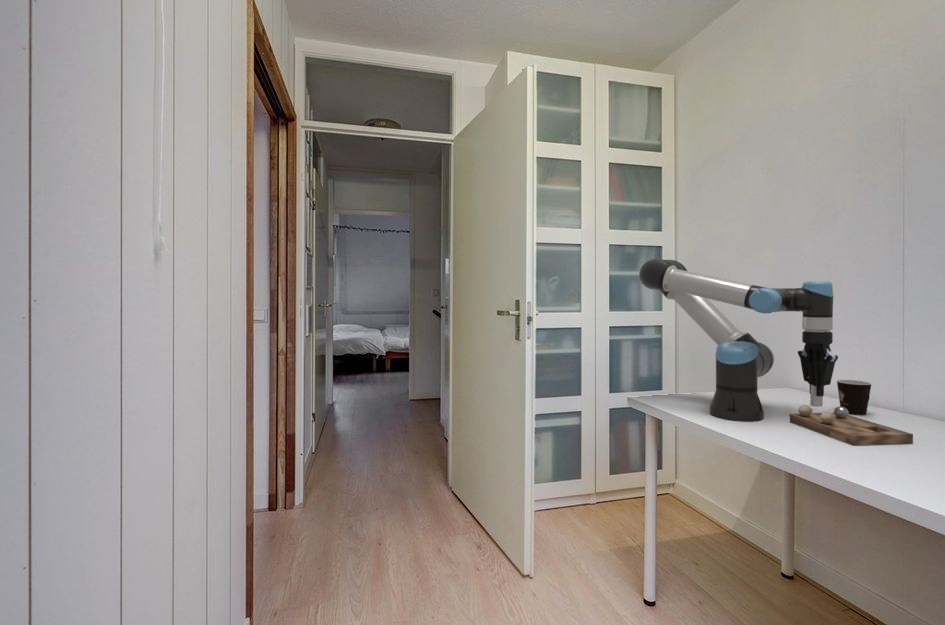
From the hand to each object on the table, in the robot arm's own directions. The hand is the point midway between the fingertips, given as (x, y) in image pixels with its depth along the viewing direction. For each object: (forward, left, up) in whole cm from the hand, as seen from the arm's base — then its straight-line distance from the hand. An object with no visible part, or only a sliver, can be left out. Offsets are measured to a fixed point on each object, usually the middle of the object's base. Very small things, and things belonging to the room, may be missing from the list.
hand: (816, 405), depth 142 cm
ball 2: (-9, -14, 0) cm, 16 cm away
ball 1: (-9, -6, 0) cm, 10 cm away
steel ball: (0, -9, 0) cm, 9 cm away
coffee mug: (+16, +4, -4) cm, 17 cm away
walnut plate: (-3, -14, -4) cm, 15 cm away
